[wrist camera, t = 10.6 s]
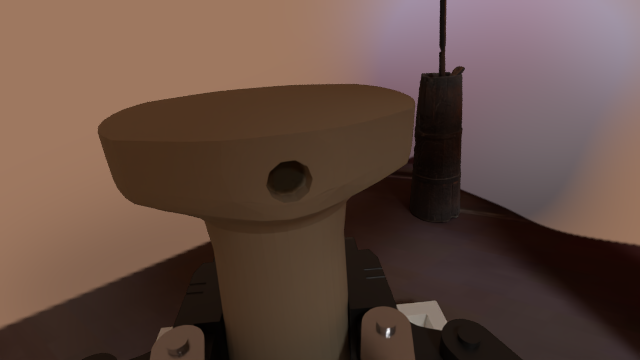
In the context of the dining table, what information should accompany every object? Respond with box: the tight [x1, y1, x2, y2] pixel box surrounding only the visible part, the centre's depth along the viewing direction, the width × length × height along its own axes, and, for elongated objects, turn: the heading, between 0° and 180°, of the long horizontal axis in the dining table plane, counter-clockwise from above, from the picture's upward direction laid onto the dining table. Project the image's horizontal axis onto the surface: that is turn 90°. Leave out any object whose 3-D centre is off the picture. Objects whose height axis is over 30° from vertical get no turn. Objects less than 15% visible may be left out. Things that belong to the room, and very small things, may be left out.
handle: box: [98, 84, 415, 360], centre depth 11 cm, size 5×6×15 cm
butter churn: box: [410, 0, 465, 222], centre depth 33 cm, size 9×10×28 cm
